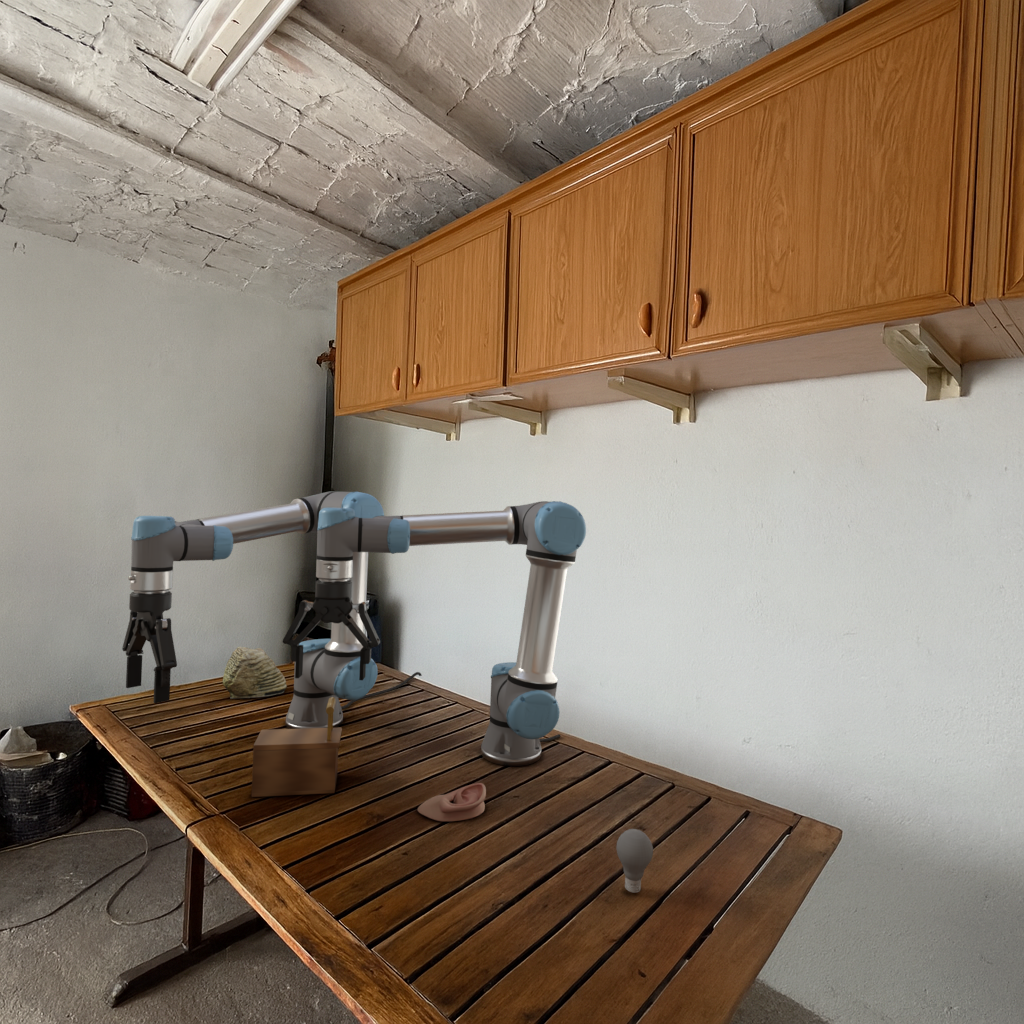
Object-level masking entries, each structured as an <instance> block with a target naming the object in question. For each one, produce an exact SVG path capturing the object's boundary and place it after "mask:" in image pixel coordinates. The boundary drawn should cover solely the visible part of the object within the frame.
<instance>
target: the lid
mask: <svg viewBox="0 0 1024 1024" xmlns="http://www.w3.org/2000/svg"><path fill="white" fill-rule="evenodd" d="M335 704H336V699H335V698H334V697H331V698H329V700H328V704H327V708H326V713H327V714H328V728H304V729H289V728H275V729H274V728H273V729H272V728H271V729H261V730H260V732H259V734H258V736H257V737H256V739H255V742H254V744H253V748H252V749H253V751H260V750H289V749H318V748H338V749H339V748H340V745H341V739H342V732H343V731H342V730H343V728H342V727H335V728H333V712H334V708H335ZM253 751H252V752H253Z"/></svg>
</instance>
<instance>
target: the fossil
mask: <svg viewBox="0 0 1024 1024" xmlns="http://www.w3.org/2000/svg"><path fill="white" fill-rule="evenodd" d="M222 676H223V677H222V685H223V687H224V688H225V690H226V691H228V693H229V698H230V699H250V698H264V697H271V696H275V695H281V694H284V693H285V691H286V689H287V687H288V686H287V680H286V678H285V676H284V674H283V673H282V672H281V669H279V668H278V667H277V665H276V663H275V662H274V660H273V659H272V658H271V657H270V656H269V655H268V654H267V653H266V652H265V650H264V649H263V648H260V647H258V648H251V647H247V646H246V647H245V646H238V647H237V648H236V649H235V650H233V651H232V653H231V656H230V657H229V659H228V660H227V663H226V666H225V668H224V671H223V675H222Z"/></svg>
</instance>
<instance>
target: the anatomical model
mask: <svg viewBox="0 0 1024 1024" xmlns="http://www.w3.org/2000/svg"><path fill="white" fill-rule="evenodd" d="M486 797H487V788H486V785H485V784H484V783H483V782H476V783H472V784H469V785H465V786H462V787H460V788H458V789H455V790H453V791H450V792H447V793H445V794H438V795H435V796H432V797H430V798H429V799H427V800H425V801H424V802H422V803H421V804H420V805H419V806H418V807H417V812H418V813H419V814H420V815H422V816H424V817H426V818H428V819H431V820H434V821H437V822H457V821H464V820H469V819H473V818H476V817H478V816H480V815H482V814H483V813H484V811H485V809H486V806H485V805H486V804H485V799H486Z"/></svg>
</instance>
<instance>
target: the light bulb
mask: <svg viewBox="0 0 1024 1024" xmlns="http://www.w3.org/2000/svg"><path fill="white" fill-rule="evenodd" d="M615 849H616V854H617V857H618V859H619V861H620V863H621V865H622V867H623V873H624V874H623V875H624V876H625V878H624V888H625V890H627V891H628V892H630V893H634V894H635V893H639V892H640V891H641V889H642V887H641V886H642V879H643V877H644V875H645V871H646V868H647V867H648V866H649V864H650V863H651V861H652V859H653V855H654V847H653V843H652V841H651V838H649V836H648V835H647V834H646V833H645V832H643V831H642V830H641V829H636V828H629V829H627V830H625V831H623V832H622V833H621V834H620V835H619V837H618V839H617V841H616V847H615Z"/></svg>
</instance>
